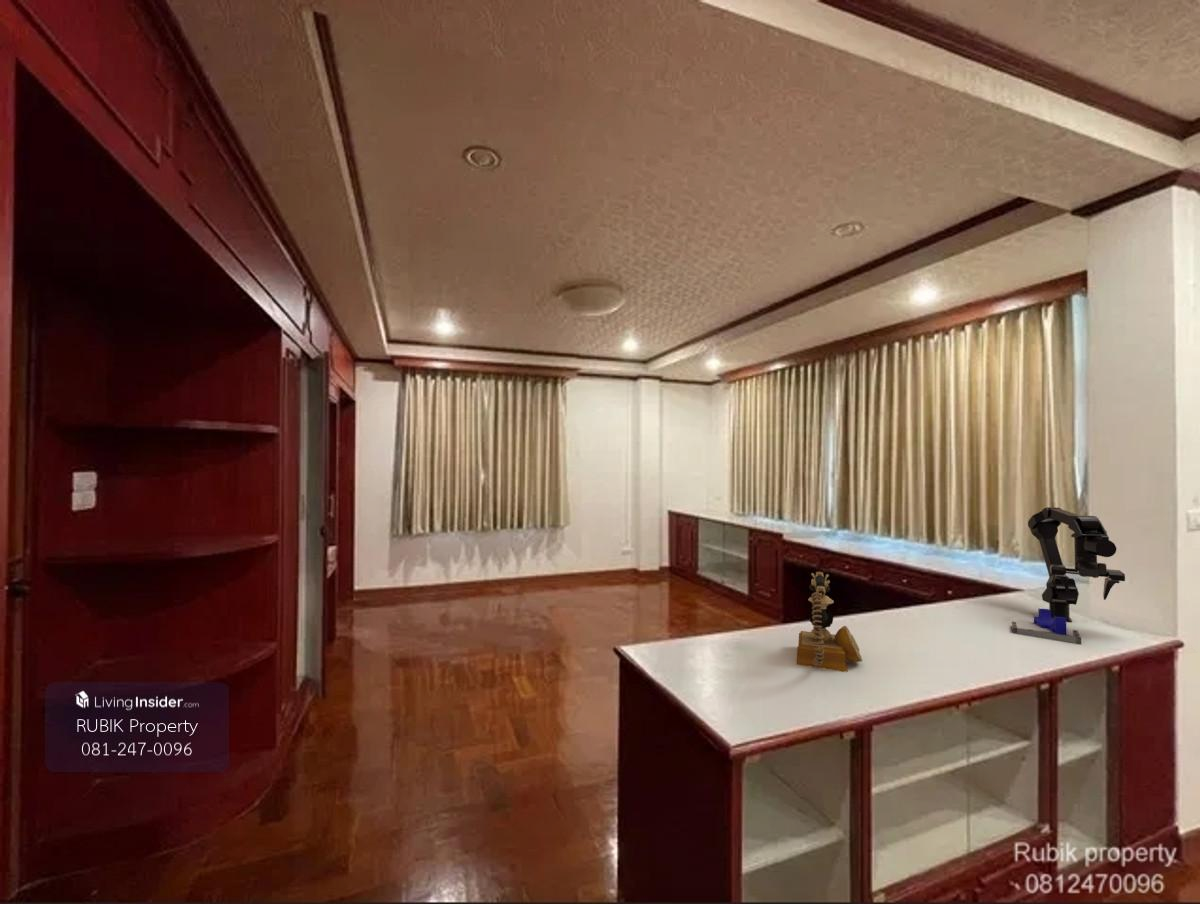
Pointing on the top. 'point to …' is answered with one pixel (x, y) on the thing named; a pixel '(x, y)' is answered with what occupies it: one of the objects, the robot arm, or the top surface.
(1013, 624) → the rail bay
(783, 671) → the top surface
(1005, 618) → the top surface
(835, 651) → the jack-in-the-box toy
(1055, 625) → the cable clip
